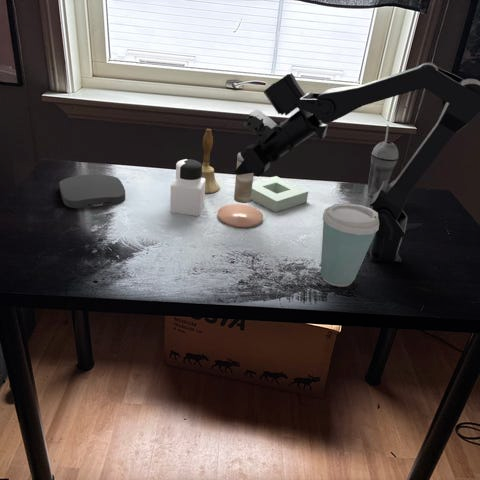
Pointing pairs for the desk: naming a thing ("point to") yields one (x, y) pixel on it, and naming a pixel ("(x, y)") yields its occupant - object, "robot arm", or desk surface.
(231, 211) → the terracotta coaster
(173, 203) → the medicine bottle
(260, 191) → the socket block
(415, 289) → the desk surface
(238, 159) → the beige cylinder
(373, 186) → the beverage cup
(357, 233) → the disposable coffee cup
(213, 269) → the desk surface
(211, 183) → the hand bell
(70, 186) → the media streaming box
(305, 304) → the desk surface
